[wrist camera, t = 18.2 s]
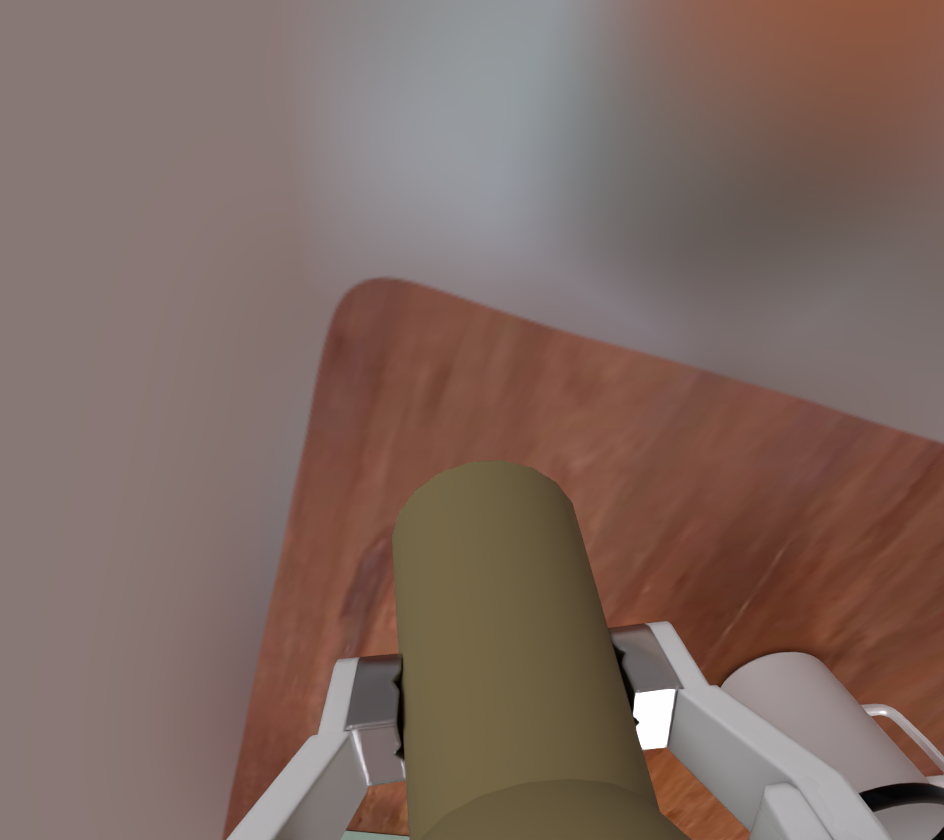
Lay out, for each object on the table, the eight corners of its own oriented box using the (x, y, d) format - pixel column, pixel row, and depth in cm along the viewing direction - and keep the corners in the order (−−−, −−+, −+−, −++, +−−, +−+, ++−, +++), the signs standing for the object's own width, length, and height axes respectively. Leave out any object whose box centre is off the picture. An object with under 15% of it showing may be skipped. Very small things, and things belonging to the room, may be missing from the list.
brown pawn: (599, 469, 13) (1140, 1222, 3) (556, 618, 15) (789, 1342, 5) (399, 450, 12) (241, 1368, 2) (385, 610, 15) (271, 1440, 5)
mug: (697, 737, 34) (781, 902, 25) (714, 650, 30) (820, 810, 22) (847, 719, 34) (979, 876, 26) (882, 631, 30) (1050, 781, 22)
